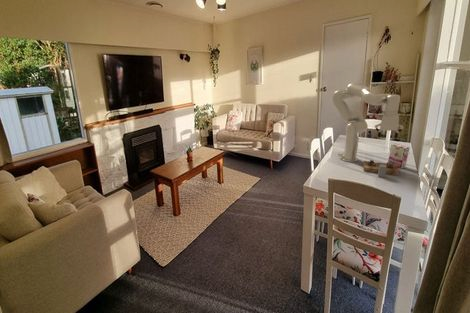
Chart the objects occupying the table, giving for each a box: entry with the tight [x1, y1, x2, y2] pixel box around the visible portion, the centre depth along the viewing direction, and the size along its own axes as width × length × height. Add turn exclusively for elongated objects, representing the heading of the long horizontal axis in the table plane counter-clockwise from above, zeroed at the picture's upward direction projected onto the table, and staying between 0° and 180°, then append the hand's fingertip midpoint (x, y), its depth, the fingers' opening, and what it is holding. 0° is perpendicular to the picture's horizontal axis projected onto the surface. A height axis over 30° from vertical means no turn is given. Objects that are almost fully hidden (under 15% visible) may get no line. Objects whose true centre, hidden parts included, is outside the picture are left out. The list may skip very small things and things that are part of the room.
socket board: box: [362, 159, 400, 176], centre depth 183 cm, size 22×14×4 cm, turn 65°
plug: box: [377, 164, 387, 179], centre depth 172 cm, size 4×4×8 cm
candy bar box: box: [387, 143, 410, 170], centre depth 186 cm, size 11×5×16 cm, turn 21°
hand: (387, 137), depth 171 cm, fingers open, 9 cm apart
